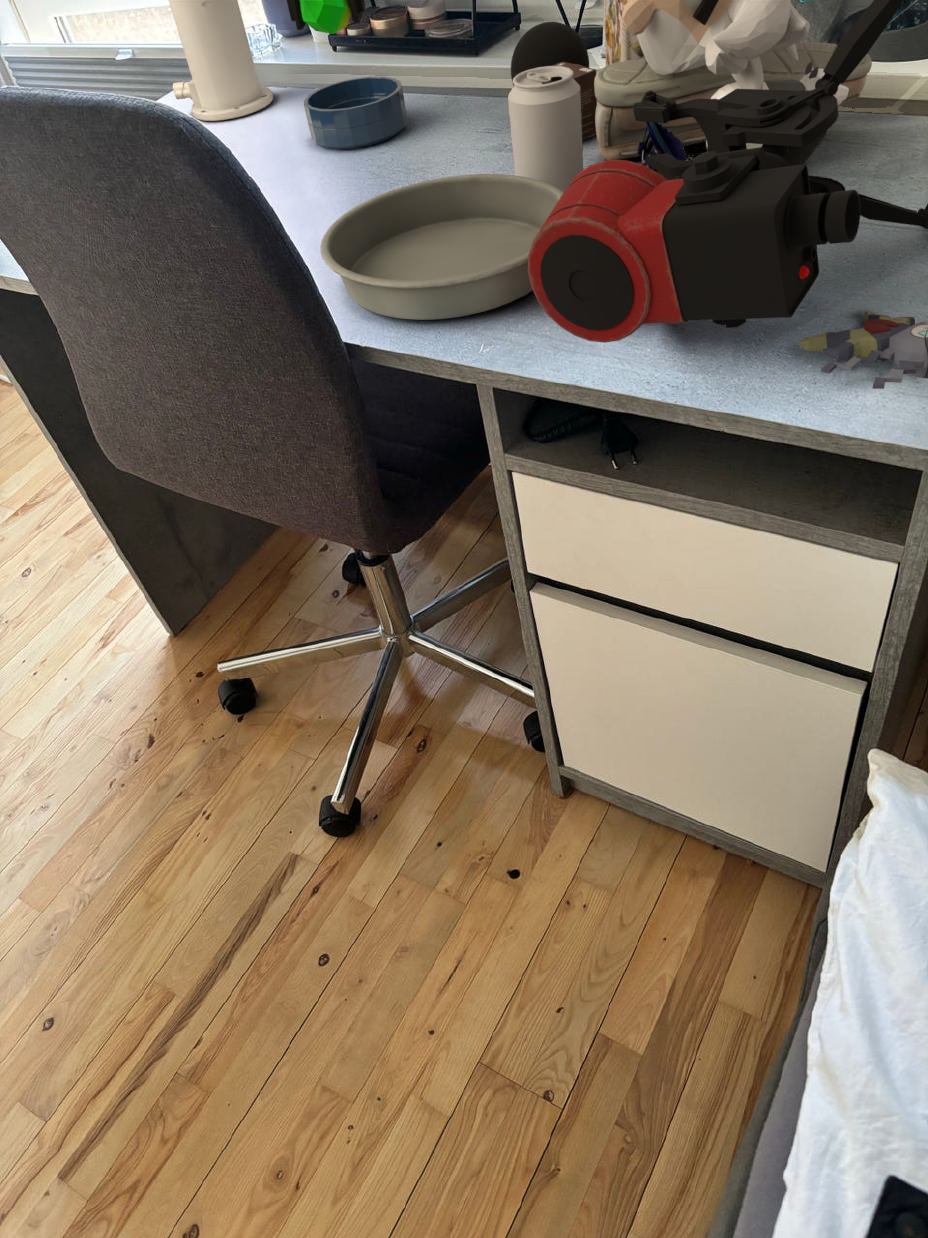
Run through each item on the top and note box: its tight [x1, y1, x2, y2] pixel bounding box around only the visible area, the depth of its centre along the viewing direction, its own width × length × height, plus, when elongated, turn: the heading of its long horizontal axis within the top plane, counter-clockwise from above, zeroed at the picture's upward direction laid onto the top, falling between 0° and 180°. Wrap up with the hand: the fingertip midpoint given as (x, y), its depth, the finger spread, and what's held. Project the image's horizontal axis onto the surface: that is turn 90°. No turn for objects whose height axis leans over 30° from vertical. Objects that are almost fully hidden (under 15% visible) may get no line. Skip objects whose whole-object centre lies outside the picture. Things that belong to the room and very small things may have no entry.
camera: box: [528, 0, 928, 344], centre depth 77 cm, size 25×30×29 cm
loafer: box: [594, 41, 873, 161], centre depth 103 cm, size 11×30×9 cm, turn 88°
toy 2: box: [797, 310, 928, 390], centre depth 69 cm, size 15×4×15 cm
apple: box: [298, 0, 352, 35], centre depth 113 cm, size 7×6×9 cm
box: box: [553, 62, 598, 141], centre depth 111 cm, size 6×6×7 cm
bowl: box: [303, 75, 409, 150], centre depth 124 cm, size 13×13×5 cm
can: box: [507, 66, 584, 193], centre depth 98 cm, size 8×8×12 cm
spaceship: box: [637, 122, 687, 172], centre depth 100 cm, size 7×6×5 cm
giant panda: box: [705, 61, 850, 152], centre depth 96 cm, size 15×6×10 cm, turn 93°
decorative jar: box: [604, 0, 645, 67], centre depth 107 cm, size 12×12×18 cm
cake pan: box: [319, 173, 563, 321], centre depth 90 cm, size 25×25×4 cm
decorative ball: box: [510, 21, 590, 87], centre depth 118 cm, size 10×10×10 cm
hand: (329, 21), depth 114 cm, fingers closed on apple, 6 cm apart
